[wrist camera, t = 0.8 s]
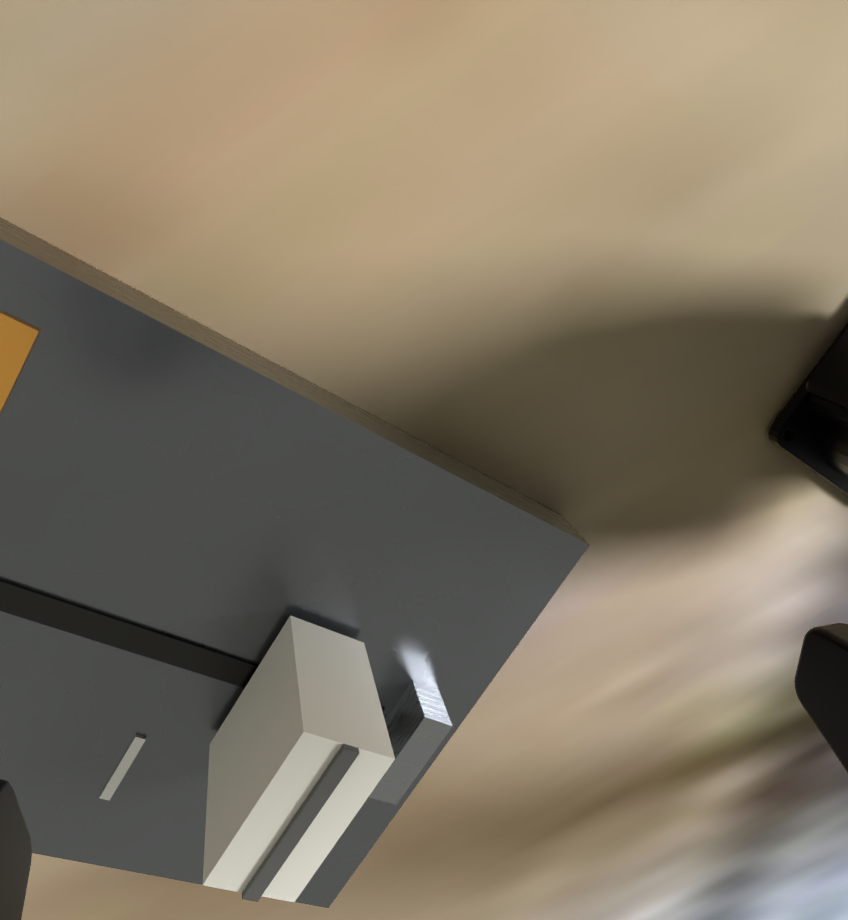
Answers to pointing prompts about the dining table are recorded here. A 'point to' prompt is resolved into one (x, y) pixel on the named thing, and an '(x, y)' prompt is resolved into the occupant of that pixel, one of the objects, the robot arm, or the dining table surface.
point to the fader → (293, 763)
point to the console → (218, 565)
